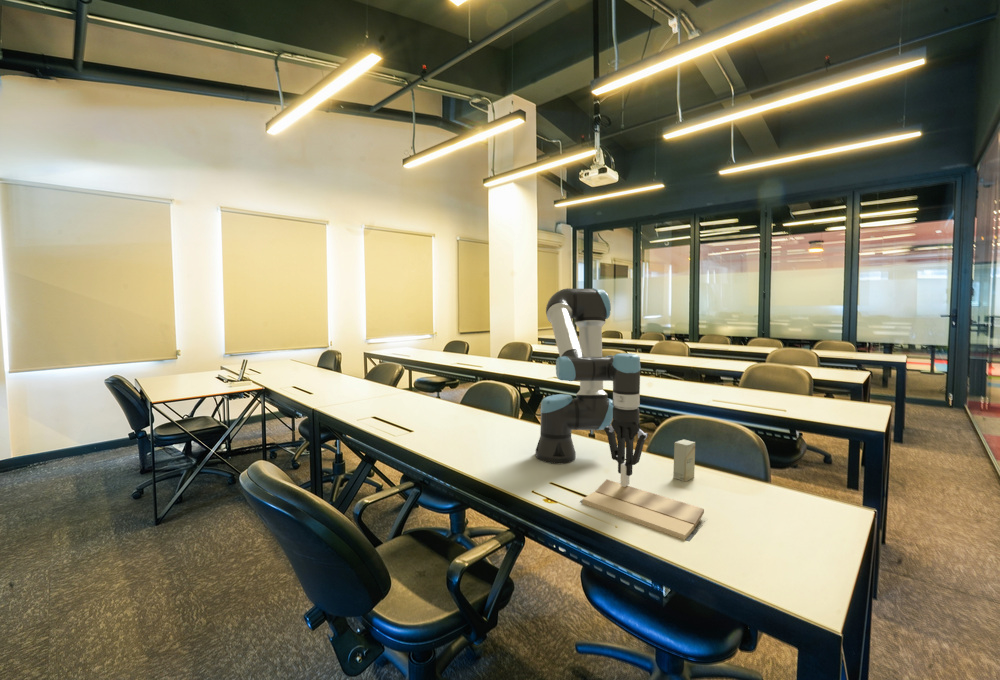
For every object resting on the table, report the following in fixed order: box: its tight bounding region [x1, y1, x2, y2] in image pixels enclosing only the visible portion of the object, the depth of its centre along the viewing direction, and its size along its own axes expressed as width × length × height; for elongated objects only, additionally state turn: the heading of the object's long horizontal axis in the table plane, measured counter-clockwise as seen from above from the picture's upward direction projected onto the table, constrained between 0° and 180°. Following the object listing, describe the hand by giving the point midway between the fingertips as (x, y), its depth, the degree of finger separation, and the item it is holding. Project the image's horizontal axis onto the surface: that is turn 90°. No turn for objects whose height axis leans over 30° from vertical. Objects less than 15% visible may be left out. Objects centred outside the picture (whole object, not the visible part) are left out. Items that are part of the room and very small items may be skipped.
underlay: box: [579, 491, 707, 542], centre depth 114 cm, size 30×15×2 cm, turn 48°
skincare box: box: [672, 438, 696, 482], centre depth 140 cm, size 6×4×12 cm
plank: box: [594, 479, 705, 529], centre depth 117 cm, size 28×7×1 cm, turn 48°
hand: (624, 484), depth 124 cm, fingers closed
